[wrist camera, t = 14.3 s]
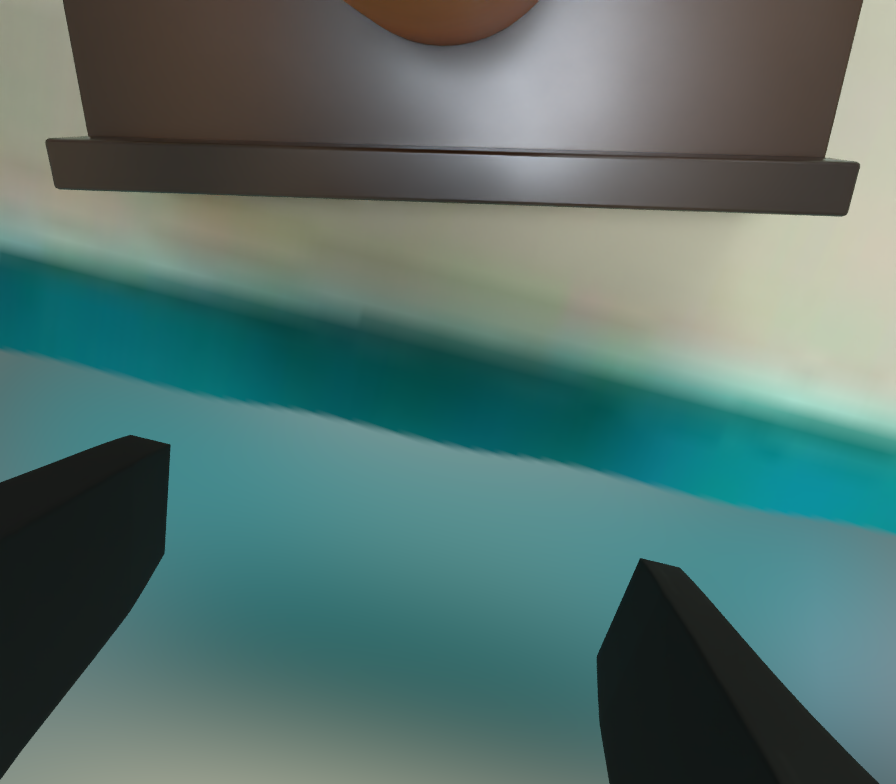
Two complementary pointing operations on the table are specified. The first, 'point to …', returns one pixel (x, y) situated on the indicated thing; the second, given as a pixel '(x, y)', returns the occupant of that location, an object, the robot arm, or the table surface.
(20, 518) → the robot arm
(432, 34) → the can
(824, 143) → the shelf
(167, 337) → the table surface
